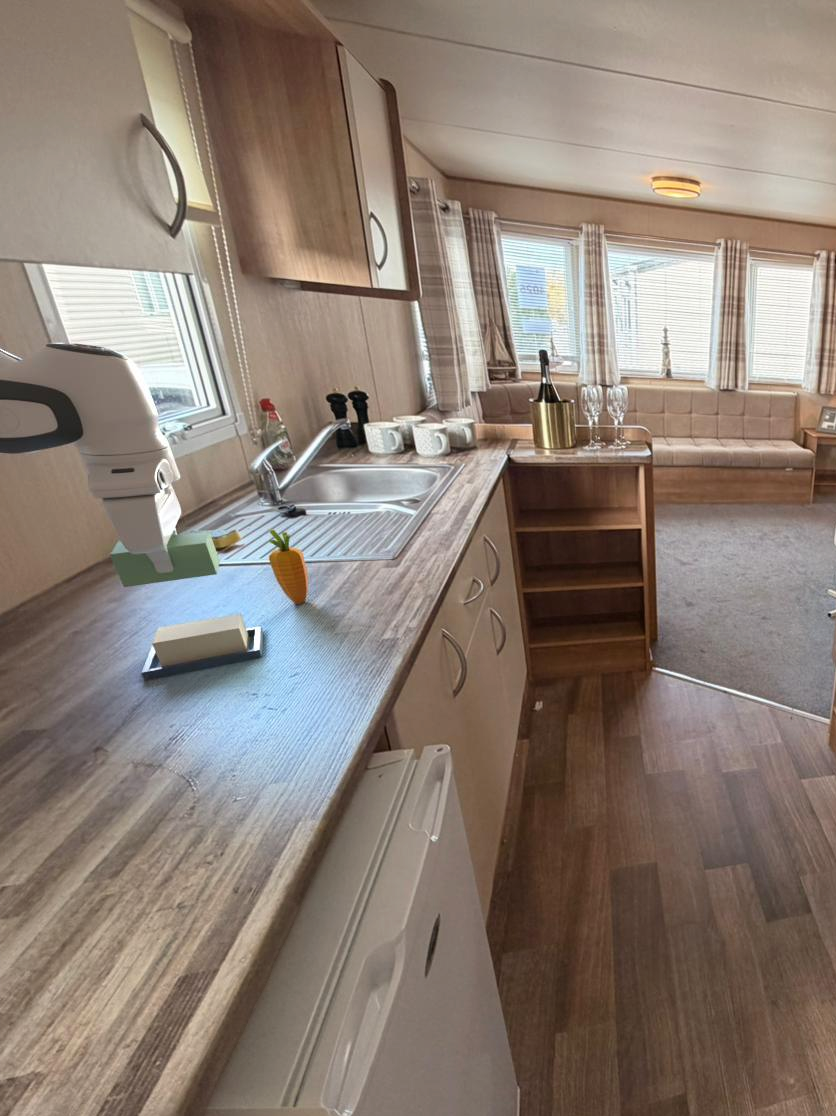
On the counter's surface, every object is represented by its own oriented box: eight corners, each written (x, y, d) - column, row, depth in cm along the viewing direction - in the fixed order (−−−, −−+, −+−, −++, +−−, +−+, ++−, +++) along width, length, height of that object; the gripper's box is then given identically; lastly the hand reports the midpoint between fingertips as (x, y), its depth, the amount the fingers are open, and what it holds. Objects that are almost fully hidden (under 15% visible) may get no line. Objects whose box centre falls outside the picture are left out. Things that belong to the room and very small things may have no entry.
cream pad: (164, 672, 96) (151, 643, 94) (169, 655, 100) (157, 627, 98) (248, 655, 102) (239, 628, 100) (250, 640, 106) (241, 613, 104)
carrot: (320, 606, 120) (299, 531, 113) (288, 614, 116) (264, 536, 110) (313, 598, 123) (291, 524, 116) (281, 605, 119) (257, 529, 113)
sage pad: (123, 587, 89) (109, 554, 87) (131, 573, 94) (117, 541, 92) (217, 574, 95) (205, 542, 93) (220, 561, 99) (209, 531, 97)
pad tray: (146, 685, 94) (140, 672, 93) (155, 657, 101) (150, 645, 100) (263, 661, 101) (259, 649, 101) (264, 637, 108) (261, 626, 108)
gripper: (116, 456, 94) (151, 545, 99) (84, 489, 79) (128, 591, 85) (174, 453, 97) (204, 538, 103) (154, 484, 82) (191, 582, 88)
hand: (170, 562), depth 94 cm, fingers closed on sage pad, 6 cm apart
